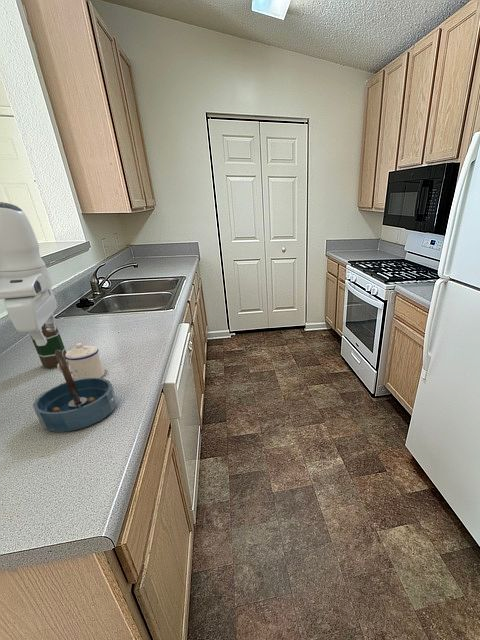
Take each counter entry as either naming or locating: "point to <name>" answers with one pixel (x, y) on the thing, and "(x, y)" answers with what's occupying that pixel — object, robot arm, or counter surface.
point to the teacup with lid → (84, 362)
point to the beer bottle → (50, 348)
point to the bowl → (81, 415)
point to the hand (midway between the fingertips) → (47, 337)
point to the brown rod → (70, 383)
